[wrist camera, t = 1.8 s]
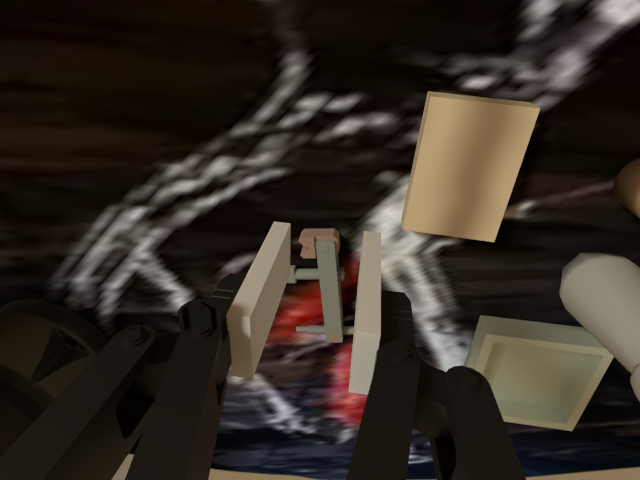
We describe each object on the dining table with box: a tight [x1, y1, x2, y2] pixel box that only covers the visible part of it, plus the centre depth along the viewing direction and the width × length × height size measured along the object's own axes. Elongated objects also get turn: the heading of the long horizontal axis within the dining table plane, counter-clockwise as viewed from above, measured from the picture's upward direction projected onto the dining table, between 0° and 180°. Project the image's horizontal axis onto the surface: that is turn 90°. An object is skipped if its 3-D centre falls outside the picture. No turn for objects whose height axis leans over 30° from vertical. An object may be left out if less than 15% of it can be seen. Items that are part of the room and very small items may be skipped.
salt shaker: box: [559, 252, 640, 402], centre depth 28 cm, size 6×6×13 cm
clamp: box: [287, 228, 354, 343], centre depth 38 cm, size 15×2×10 cm
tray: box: [465, 315, 614, 431], centre depth 38 cm, size 11×11×2 cm
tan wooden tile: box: [402, 91, 540, 242], centre depth 30 cm, size 7×10×2 cm
